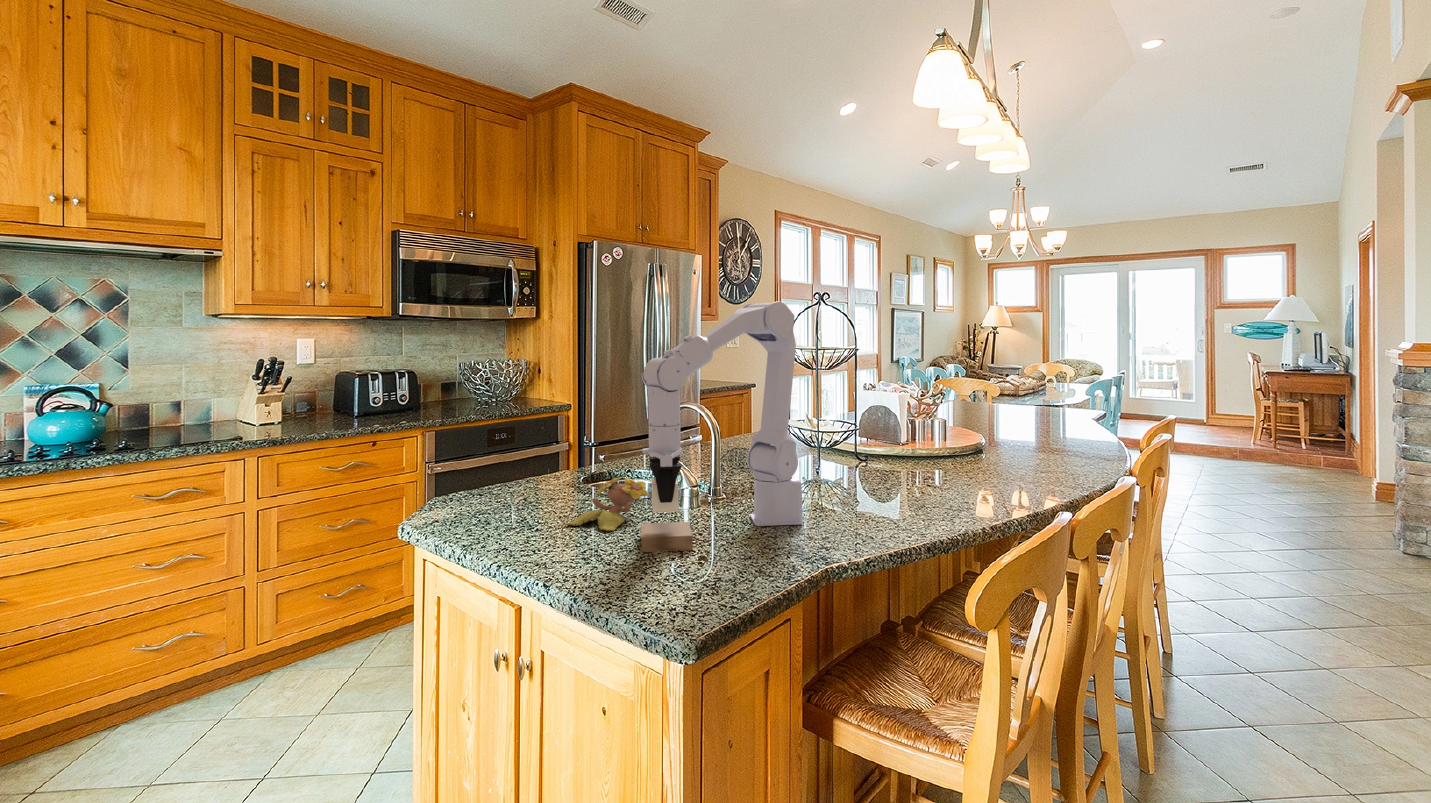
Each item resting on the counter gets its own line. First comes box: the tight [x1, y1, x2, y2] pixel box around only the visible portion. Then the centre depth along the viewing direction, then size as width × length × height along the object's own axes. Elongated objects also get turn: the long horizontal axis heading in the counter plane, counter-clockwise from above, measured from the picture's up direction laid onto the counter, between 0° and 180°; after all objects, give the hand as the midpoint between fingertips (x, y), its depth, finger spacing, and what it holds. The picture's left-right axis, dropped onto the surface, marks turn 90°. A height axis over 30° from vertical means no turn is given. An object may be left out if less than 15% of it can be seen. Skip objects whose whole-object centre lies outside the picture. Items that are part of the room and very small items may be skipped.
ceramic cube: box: [651, 478, 680, 513], centre depth 125 cm, size 5×5×5 cm
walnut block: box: [640, 521, 694, 553], centre depth 126 cm, size 9×9×3 cm
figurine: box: [566, 476, 650, 532], centre depth 142 cm, size 12×9×15 cm
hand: (665, 498), depth 125 cm, fingers closed on ceramic cube, 5 cm apart
